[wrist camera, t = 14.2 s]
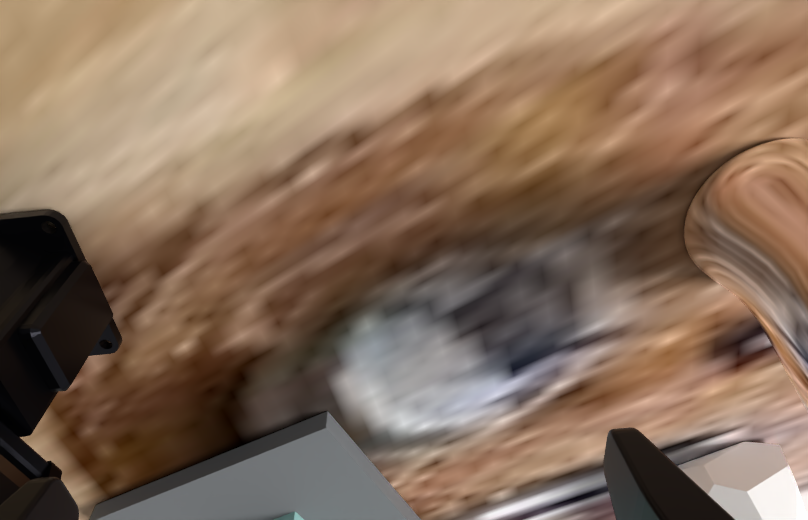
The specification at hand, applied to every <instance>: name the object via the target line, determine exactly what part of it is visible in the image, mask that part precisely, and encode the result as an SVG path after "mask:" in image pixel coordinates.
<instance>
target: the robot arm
mask: <svg viewBox="0 0 808 520" xmlns="http://www.w3.org/2000/svg"><path fill="white" fill-rule="evenodd" d="M47 221H49V222H51V223H53V224H54V225H55V226H56V228H53V227H51V226H49V225H48V223H47ZM105 340H108V341H110V342H111V343H109V342H107V341H105ZM121 343H122V337H121V335H120V332H119V330H118V328H117V326H116V324H115V322H114V320H113V313H112V311H111V308H110V306H109V304H108V302H107V300H106V298H105V295H104V293H103V291H102V289H101V287H100V285H99V282H98V280H97V278H96V276H95V274H94V272H93V269H92V267H91V266H90V264H88V263H87V261H86V259H85V257H84V255H83V253H82V251H81V248H80V246H79V244H78V242H77V240H76V238H75V235H74V233H73V231H72V229H71V227H70V225H69V223H68V220H67V219H66V218H65V216H64V215H62V214H61V213H60V212H57V211H54V210H42V211H33V212H23V213H13V214H4V215H0V520H78V519H79V510H78V506H77V504H76V502H75V501H74V499H73V498H72V496H71V495H70V493H69V491H68V490H67V488H66V487H65V485H64V484H63V482H62V481H61V475H62V471H61V470H60V469H59V468H58V467H57V466H56V465H55V464H54V463H52V462H51V461H47V462H46V461H45V460H44V459H43V458H42V457H41V456H40V455H39V454H37V453H36V452H35V451H34V450H33V449H32V448H31V447H30V446H29V445H27V444H26V443H25V442H24V441H23V440H22V439H21V438H20V437H24V436H29V435H31V434H32V432H33V431H34V429H35V427H36V426H37V424H38V423H39V421H40V419H41V418H42V416H43V415H44V413H45V412H46V410H47V408H48V407H49V405H50V404H51V402H52V400H53V399H54V397H55V396H56V394H57V393H58V391H66V390H67V389H68V388H69V387H70V385H71V384H72V382H73V381H74V379H75V377H76V376H77V374H78V373H79V371H80V369H81V368H82V366H83V364H84V363H85V361H86V360H87V358H88V356H91V355H102V354H111V353H115V352H116V351H117V350H118V348H119V347H120V345H121ZM604 474H605V478H606V482H607V486H608V490H609V493H610V497H611V501H612V505H613V509H614V512H615V516H616V520H735V519H734V518H733V517H732V516H731V515H730V514H729V513H728V512H726V511H725V510H724V509H723V508H722V507H721V506H720V505H719V504H718V503H717V502H716V501H714V500H713V499H712V498H711V497H710V496H709V495H708V494H707V493H706V492H705V491H704V490H703V489H701V488H700V487H699V486H698V485H697V484H696V483H695V482H694V481H693V480H692V479H691V478H690V477H688V476H687V475H686V474H685V473H684V472H683V471H682V470H681V469H680V468H679V467H678V466H677V465H675V464H674V463H673V462H672V461H671V460H670V459H669V458H668V457H667V456H666V455H665V454H664V453H662V452H661V451H660V450H659V449H658V448H657V447H656V446H655V445H654V444H653V443H652V442H651V441H649V440H648V439H647V438H646V437H645V436H644V435H643V434H642V433H641V432H640V431H638V430H637V429H635V428H619V429H612V430H610V431H609V433H608V435H607V442H606V449H605V455H604Z"/></svg>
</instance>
